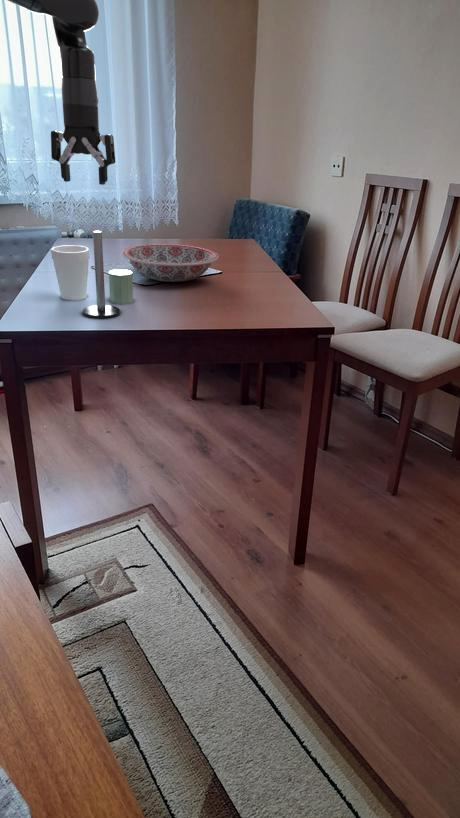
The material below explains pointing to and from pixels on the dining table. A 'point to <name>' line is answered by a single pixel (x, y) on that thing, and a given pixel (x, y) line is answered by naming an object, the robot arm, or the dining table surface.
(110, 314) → the towel holder
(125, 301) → the green cup
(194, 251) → the ceramic bowl
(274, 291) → the dining table surface
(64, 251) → the foam cup
